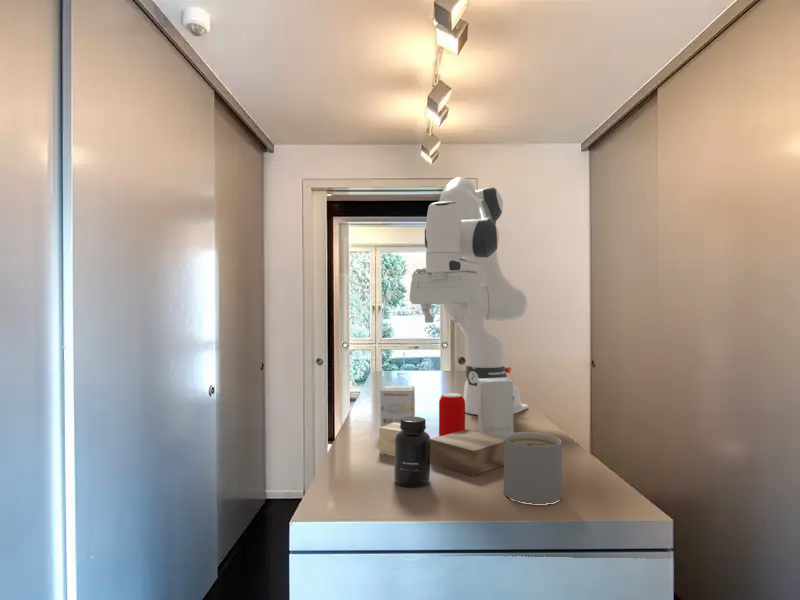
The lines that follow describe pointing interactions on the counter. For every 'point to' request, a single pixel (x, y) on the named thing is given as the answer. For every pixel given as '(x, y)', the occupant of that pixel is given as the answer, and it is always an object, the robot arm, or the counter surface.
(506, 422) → the skincare box
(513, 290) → the robot arm
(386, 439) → the oak block
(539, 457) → the coffee mug
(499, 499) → the counter surface
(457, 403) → the beverage can
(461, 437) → the walnut block
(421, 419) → the supplement bottle
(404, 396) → the ink box
